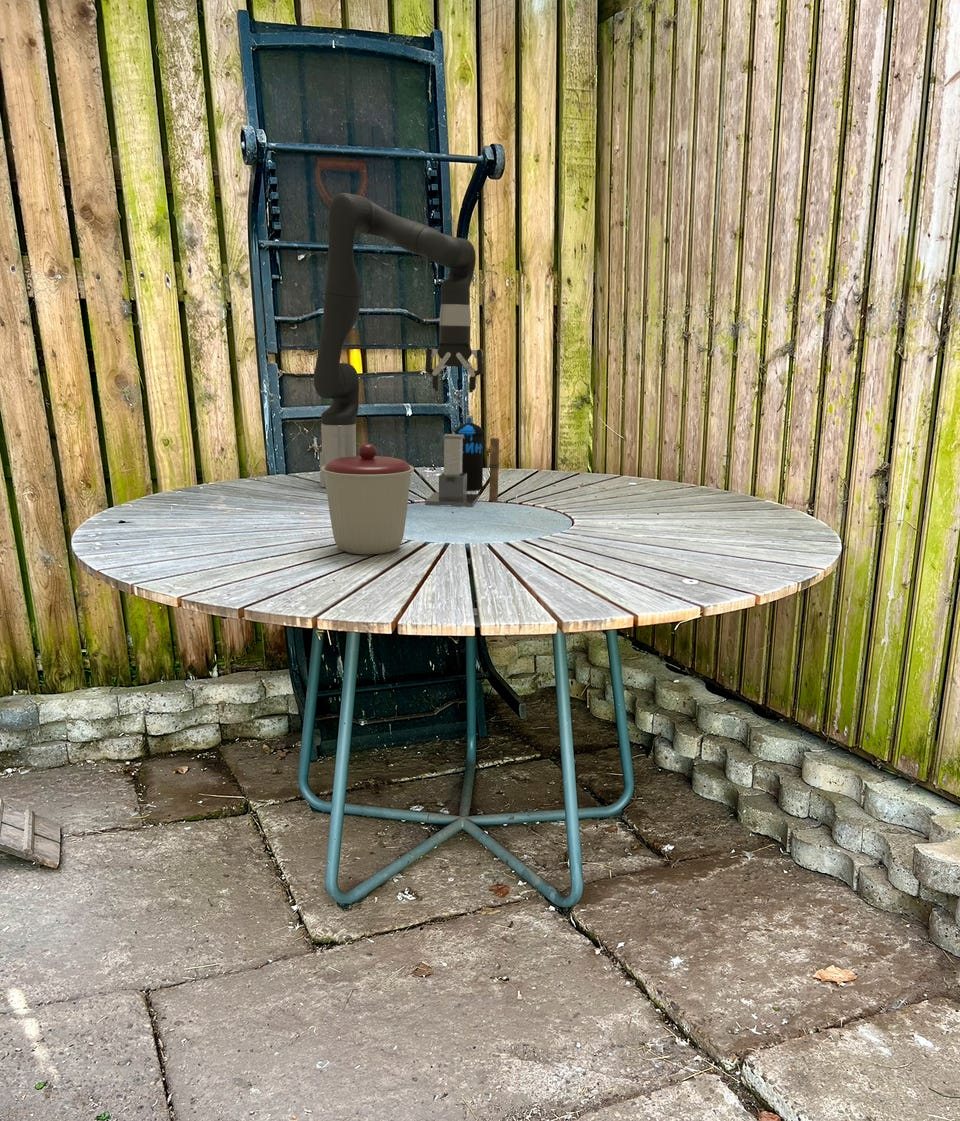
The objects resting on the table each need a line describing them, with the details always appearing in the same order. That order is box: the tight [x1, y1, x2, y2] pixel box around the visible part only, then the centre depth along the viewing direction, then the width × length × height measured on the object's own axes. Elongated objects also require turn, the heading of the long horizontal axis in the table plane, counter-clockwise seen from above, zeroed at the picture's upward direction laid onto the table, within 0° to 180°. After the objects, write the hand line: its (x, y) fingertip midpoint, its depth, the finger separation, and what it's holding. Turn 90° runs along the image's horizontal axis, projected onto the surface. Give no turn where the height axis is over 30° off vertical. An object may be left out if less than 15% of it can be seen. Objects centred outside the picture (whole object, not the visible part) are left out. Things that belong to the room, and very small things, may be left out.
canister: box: [321, 443, 415, 555], centre depth 176 cm, size 18×18×21 cm
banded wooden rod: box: [488, 437, 500, 502], centre depth 229 cm, size 2×2×16 cm
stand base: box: [424, 471, 480, 508], centre depth 228 cm, size 12×12×7 cm
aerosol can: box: [453, 414, 485, 492], centre depth 245 cm, size 8×8×20 cm
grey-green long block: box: [442, 433, 464, 476], centre depth 226 cm, size 5×5×16 cm
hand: (454, 391), depth 222 cm, fingers open, 8 cm apart
